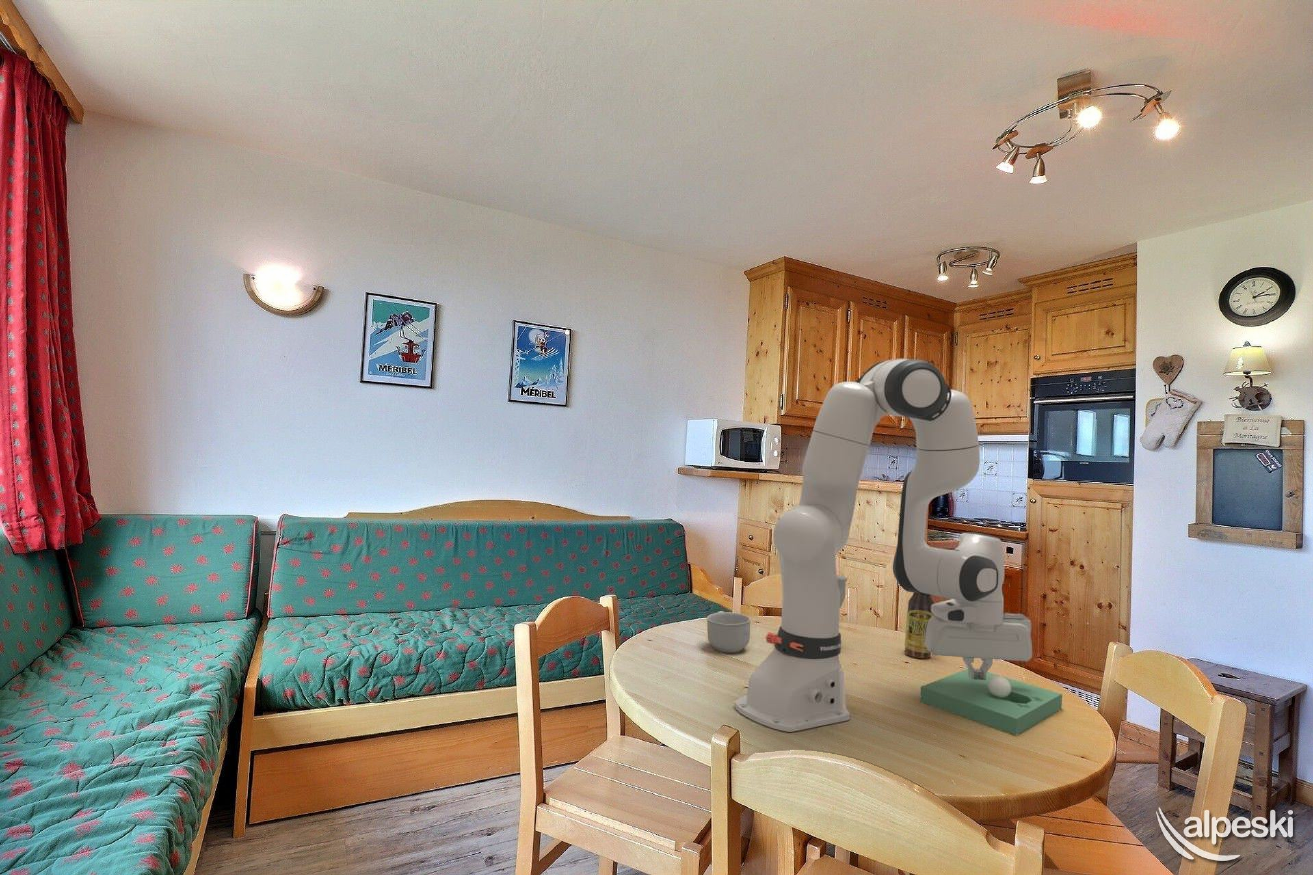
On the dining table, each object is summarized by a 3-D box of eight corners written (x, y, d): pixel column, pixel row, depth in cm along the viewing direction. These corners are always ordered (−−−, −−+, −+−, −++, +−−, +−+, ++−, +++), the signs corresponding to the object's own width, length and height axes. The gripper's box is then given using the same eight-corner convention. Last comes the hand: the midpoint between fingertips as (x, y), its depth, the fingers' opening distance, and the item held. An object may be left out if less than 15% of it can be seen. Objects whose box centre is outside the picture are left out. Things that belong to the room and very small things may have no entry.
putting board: (1016, 735, 111) (1016, 718, 111) (920, 701, 125) (920, 686, 125) (1061, 708, 124) (1062, 693, 125) (970, 680, 139) (970, 667, 139)
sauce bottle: (904, 657, 154) (907, 577, 154) (904, 650, 159) (906, 573, 160) (933, 661, 151) (936, 580, 152) (931, 654, 157) (934, 575, 158)
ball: (993, 669, 122) (980, 680, 124) (999, 686, 119) (987, 697, 121) (1011, 675, 122) (998, 686, 124) (1018, 693, 119) (1005, 704, 121)
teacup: (752, 657, 148) (753, 623, 148) (706, 654, 148) (708, 621, 148) (744, 640, 162) (745, 609, 162) (703, 637, 162) (704, 607, 162)
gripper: (1023, 610, 130) (1021, 676, 129) (923, 604, 131) (921, 670, 131) (1039, 618, 124) (1037, 688, 123) (934, 611, 125) (932, 680, 125)
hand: (976, 678), depth 127 cm, fingers closed
